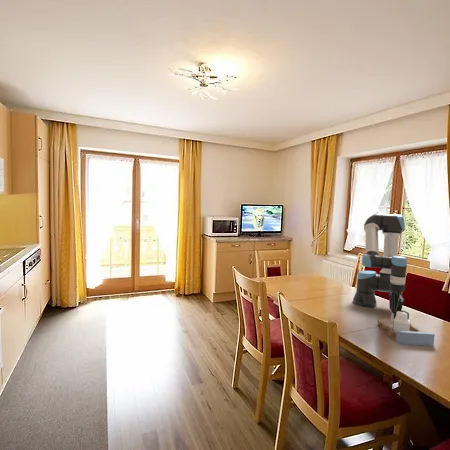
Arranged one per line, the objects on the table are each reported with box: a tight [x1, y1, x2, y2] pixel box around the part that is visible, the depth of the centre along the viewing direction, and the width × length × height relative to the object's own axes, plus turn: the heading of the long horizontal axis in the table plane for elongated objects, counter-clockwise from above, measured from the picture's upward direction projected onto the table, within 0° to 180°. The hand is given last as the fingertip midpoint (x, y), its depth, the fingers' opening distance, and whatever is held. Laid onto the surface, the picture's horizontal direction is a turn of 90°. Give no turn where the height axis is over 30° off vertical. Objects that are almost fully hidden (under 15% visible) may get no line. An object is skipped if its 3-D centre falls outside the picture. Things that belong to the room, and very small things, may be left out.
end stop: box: [395, 330, 436, 347], centre depth 143 cm, size 2×17×6 cm, turn 87°
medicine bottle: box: [392, 309, 411, 334], centre depth 156 cm, size 7×7×12 cm
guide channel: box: [377, 319, 423, 342], centre depth 154 cm, size 20×17×3 cm
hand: (393, 323), depth 163 cm, fingers closed
